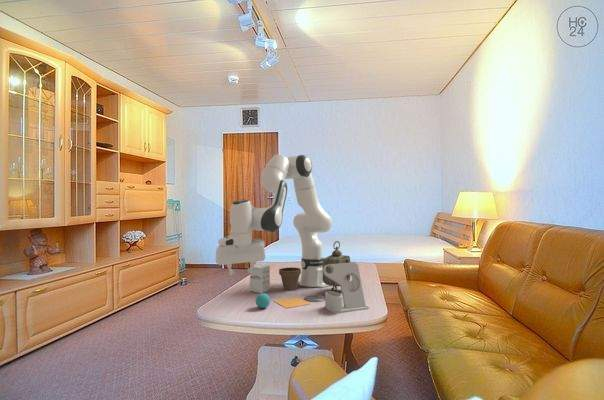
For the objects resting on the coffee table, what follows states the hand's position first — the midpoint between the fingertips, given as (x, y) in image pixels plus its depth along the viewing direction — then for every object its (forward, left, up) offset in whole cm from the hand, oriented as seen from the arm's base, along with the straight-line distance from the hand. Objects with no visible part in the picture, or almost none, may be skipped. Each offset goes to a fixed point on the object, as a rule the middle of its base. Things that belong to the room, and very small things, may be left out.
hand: (241, 273), depth 134 cm
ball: (-10, 0, -12) cm, 15 cm away
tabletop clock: (-52, -5, -15) cm, 54 cm away
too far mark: (-36, 0, -15) cm, 39 cm away
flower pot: (-35, -22, -15) cm, 44 cm away
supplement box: (-20, -26, -15) cm, 36 cm away
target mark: (-24, 0, -15) cm, 28 cm away
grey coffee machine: (-40, +18, -16) cm, 46 cm away
